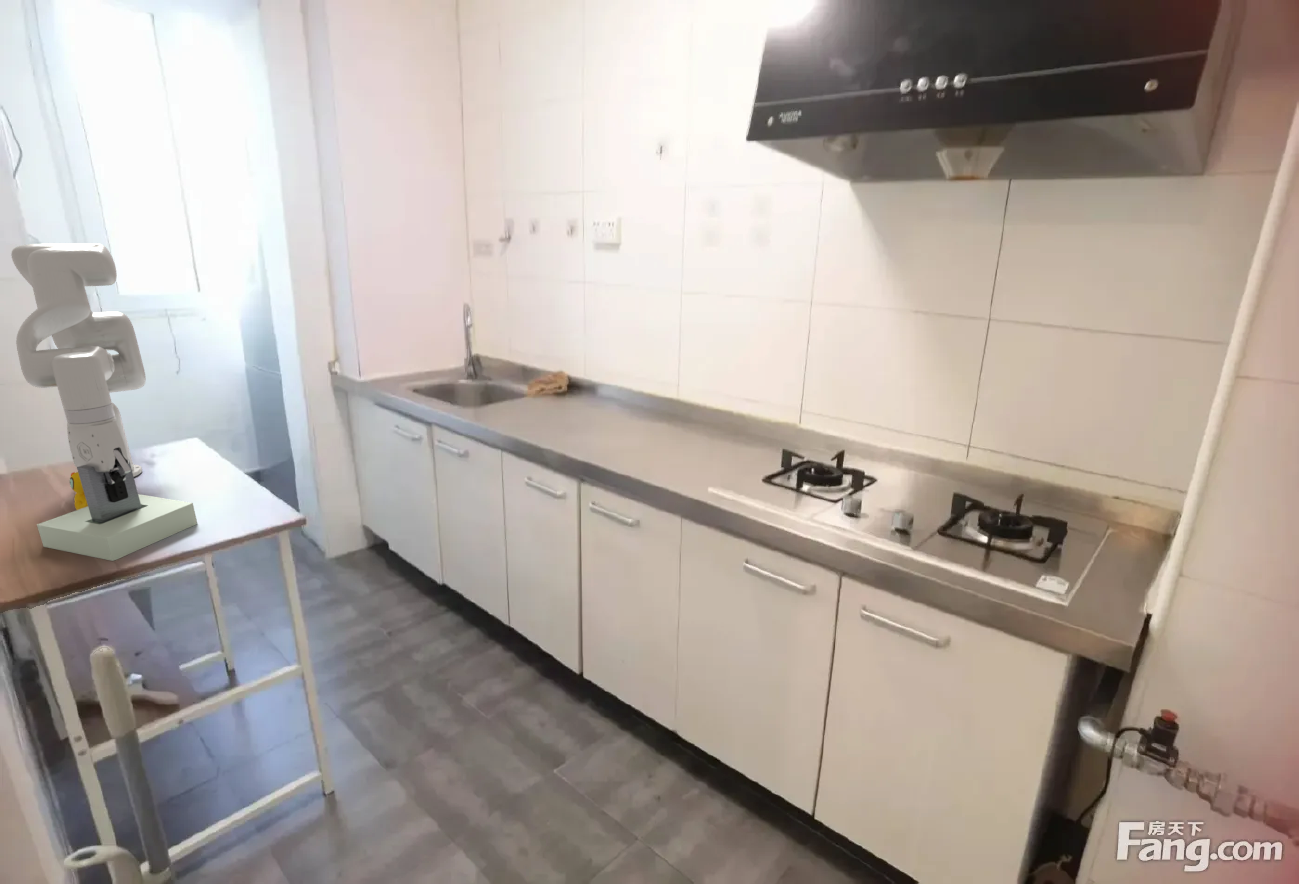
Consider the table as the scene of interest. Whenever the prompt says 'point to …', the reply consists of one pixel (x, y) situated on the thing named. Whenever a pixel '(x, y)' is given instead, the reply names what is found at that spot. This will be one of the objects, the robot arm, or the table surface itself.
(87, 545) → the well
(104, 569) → the table surface
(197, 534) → the table surface
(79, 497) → the duckling
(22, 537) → the table surface
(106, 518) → the brushed metal pillar
